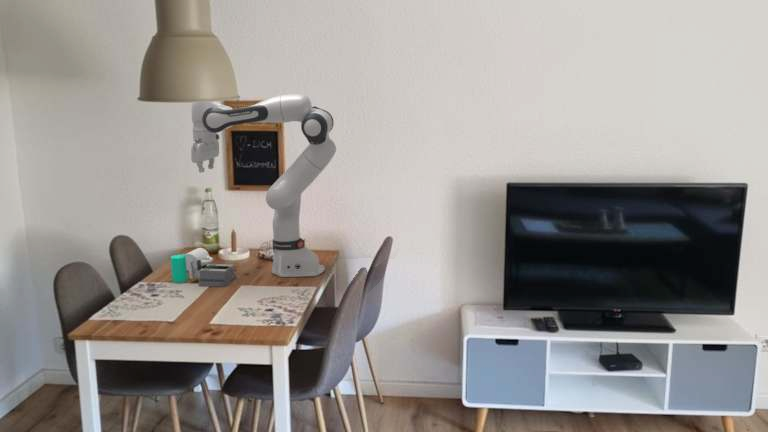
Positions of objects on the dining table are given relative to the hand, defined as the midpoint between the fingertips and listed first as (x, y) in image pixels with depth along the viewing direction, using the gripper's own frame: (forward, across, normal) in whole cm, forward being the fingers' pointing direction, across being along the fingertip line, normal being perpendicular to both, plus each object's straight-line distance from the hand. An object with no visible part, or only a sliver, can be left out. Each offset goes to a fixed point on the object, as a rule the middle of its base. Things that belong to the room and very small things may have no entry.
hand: (206, 170), depth 312 cm
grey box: (+44, -15, -8) cm, 47 cm away
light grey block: (+42, -15, -2) cm, 44 cm away
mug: (+44, +3, +7) cm, 45 cm away
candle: (+44, -15, +8) cm, 47 cm away
